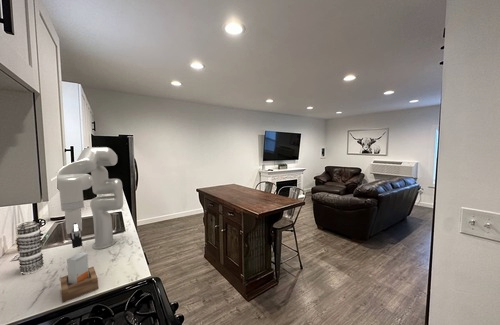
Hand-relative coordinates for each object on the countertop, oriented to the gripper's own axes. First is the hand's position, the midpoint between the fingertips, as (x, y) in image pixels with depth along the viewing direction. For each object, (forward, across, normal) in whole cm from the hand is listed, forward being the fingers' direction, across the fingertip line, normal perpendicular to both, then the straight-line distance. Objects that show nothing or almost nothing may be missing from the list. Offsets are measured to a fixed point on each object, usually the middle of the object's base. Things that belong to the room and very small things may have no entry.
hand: (76, 242), depth 91 cm
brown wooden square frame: (+21, +1, 0) cm, 21 cm away
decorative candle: (+22, -35, -16) cm, 45 cm away
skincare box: (+18, +1, 0) cm, 18 cm away
